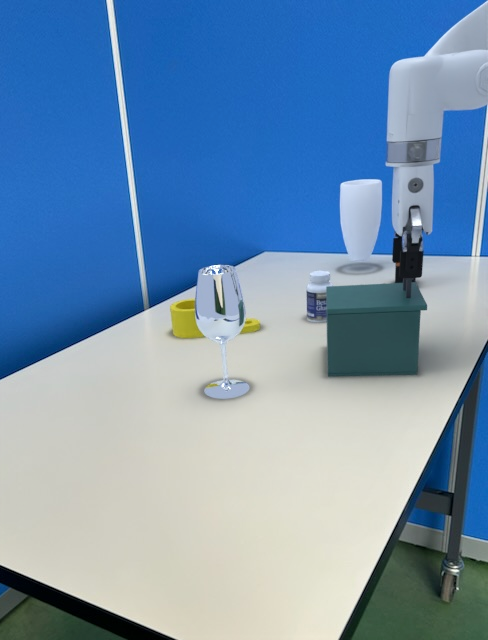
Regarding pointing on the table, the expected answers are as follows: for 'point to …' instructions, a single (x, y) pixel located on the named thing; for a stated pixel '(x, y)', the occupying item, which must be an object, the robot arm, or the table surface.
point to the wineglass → (220, 319)
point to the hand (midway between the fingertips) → (406, 269)
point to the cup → (360, 216)
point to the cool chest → (373, 343)
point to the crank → (186, 320)
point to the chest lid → (375, 298)
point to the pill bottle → (317, 296)
